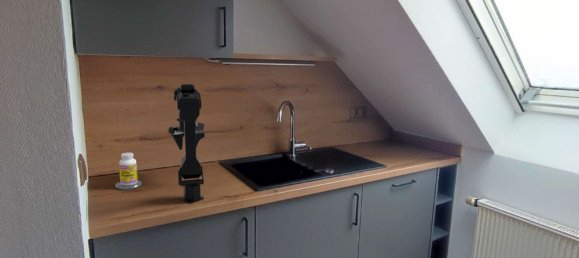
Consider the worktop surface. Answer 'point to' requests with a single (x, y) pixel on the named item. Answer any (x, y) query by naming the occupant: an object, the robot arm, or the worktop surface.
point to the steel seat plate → (122, 187)
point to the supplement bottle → (128, 169)
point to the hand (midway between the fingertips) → (187, 151)
